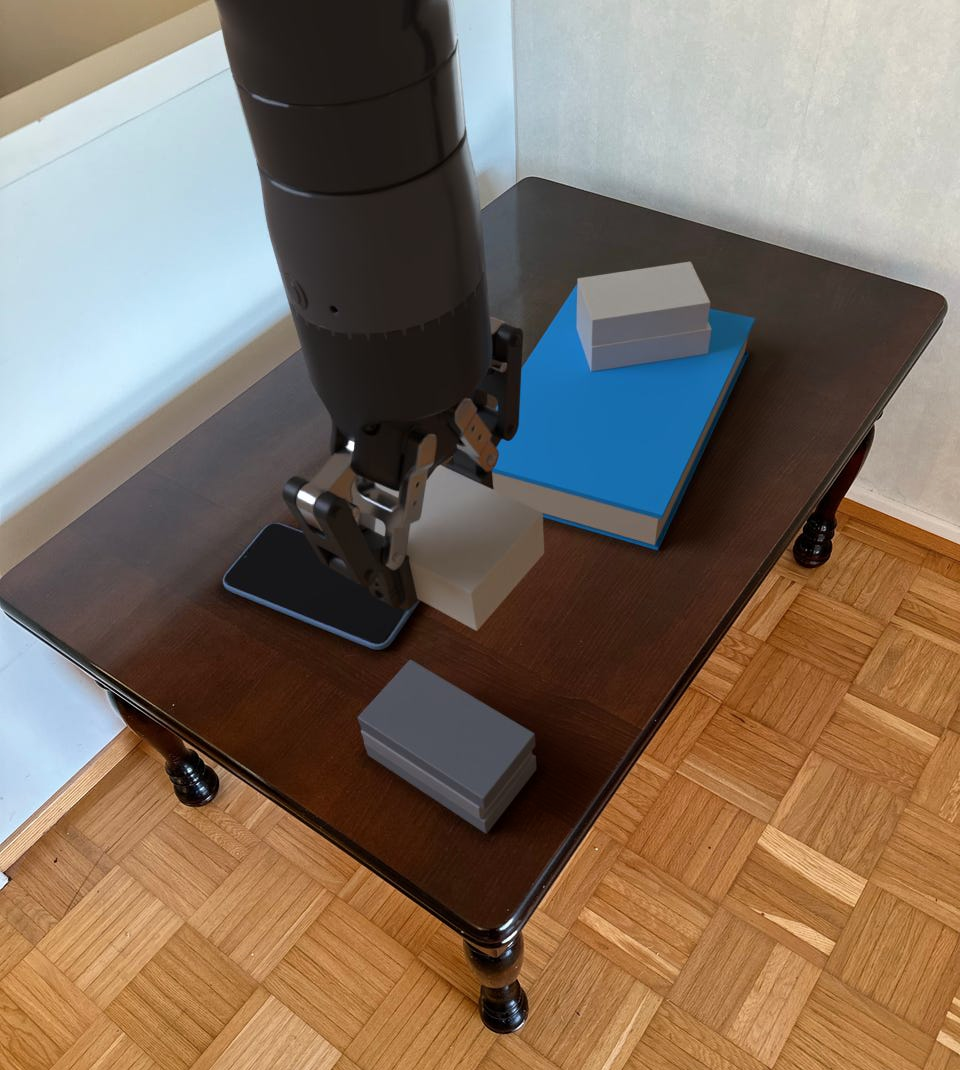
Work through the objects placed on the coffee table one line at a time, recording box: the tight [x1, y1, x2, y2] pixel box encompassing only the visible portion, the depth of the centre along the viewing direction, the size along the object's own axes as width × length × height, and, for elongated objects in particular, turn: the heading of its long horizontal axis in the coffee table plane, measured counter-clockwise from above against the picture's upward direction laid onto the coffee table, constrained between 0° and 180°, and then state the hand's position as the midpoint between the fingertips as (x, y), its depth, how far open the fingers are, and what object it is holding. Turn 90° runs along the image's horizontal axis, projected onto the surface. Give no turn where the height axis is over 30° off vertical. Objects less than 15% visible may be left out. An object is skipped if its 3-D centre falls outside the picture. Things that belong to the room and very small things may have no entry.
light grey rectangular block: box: [576, 261, 711, 371], centre depth 78 cm, size 10×6×5 cm, turn 98°
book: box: [492, 284, 756, 551], centre depth 79 cm, size 17×4×25 cm
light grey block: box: [375, 464, 545, 632], centre depth 47 cm, size 10×6×3 cm, turn 54°
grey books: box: [357, 659, 537, 834], centre depth 60 cm, size 10×6×5 cm, turn 53°
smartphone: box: [222, 522, 421, 651], centre depth 72 cm, size 7×1×15 cm
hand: (437, 556), depth 48 cm, fingers closed on light grey block, 5 cm apart
